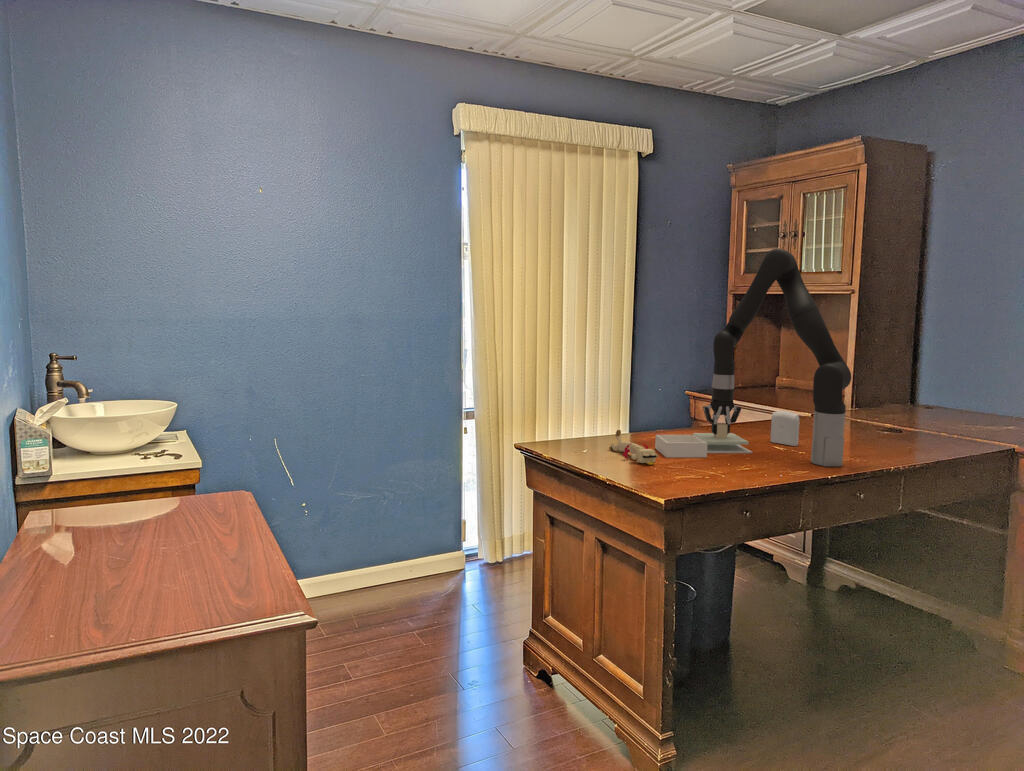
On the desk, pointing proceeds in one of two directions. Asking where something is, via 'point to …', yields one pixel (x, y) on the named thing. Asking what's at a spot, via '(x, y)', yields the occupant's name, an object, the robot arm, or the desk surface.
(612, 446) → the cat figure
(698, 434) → the lid
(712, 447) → the mat
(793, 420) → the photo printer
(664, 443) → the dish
